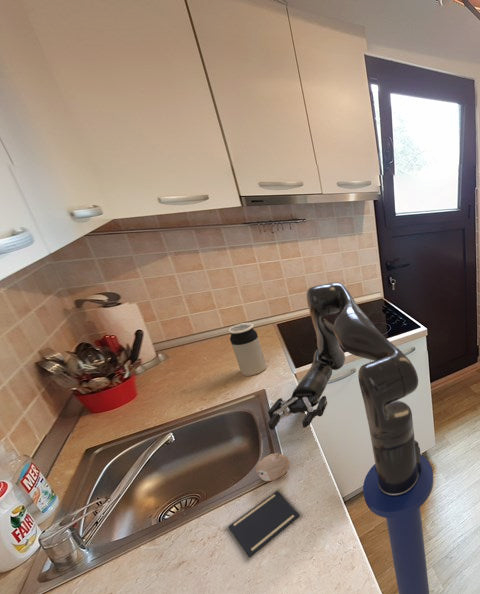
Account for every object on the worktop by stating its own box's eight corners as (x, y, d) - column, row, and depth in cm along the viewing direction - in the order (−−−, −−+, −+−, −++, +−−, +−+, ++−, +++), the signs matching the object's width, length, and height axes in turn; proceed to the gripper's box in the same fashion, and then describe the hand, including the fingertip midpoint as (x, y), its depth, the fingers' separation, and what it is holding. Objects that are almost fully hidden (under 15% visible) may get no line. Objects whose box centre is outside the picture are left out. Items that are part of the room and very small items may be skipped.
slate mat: (277, 491, 77) (276, 490, 77) (299, 516, 72) (299, 514, 72) (228, 527, 70) (227, 526, 70) (249, 557, 64) (248, 556, 64)
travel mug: (264, 373, 120) (251, 330, 113) (238, 378, 118) (223, 334, 111) (268, 362, 127) (256, 320, 120) (245, 366, 125) (231, 324, 118)
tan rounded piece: (265, 492, 77) (256, 467, 74) (256, 475, 81) (248, 451, 78) (294, 474, 82) (287, 450, 79) (285, 459, 86) (278, 436, 83)
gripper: (284, 379, 101) (255, 417, 86) (332, 376, 102) (312, 413, 87) (290, 398, 103) (263, 438, 89) (336, 396, 105) (317, 435, 90)
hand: (287, 426), depth 88 cm, fingers open, 8 cm apart
